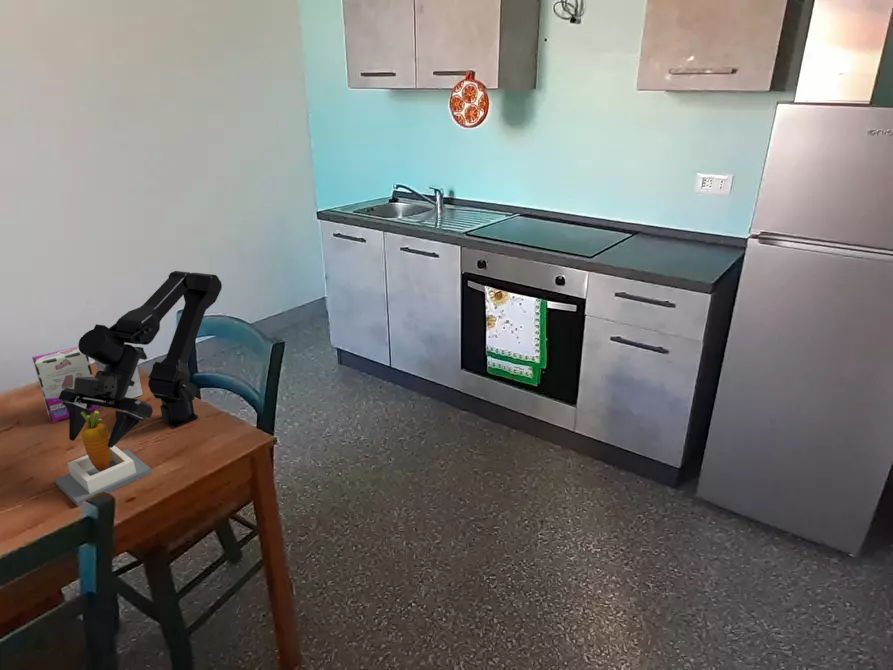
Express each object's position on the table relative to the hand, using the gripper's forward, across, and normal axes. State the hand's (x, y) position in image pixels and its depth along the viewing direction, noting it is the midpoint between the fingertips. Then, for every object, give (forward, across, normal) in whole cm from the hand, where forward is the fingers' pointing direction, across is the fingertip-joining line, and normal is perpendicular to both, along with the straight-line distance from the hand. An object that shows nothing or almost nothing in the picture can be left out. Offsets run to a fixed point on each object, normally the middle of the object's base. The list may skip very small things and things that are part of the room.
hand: (90, 443), depth 129 cm
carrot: (+5, 0, +7) cm, 9 cm away
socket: (+6, 0, +8) cm, 10 cm away
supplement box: (-16, -21, +30) cm, 40 cm away
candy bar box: (-9, -27, +23) cm, 36 cm away
